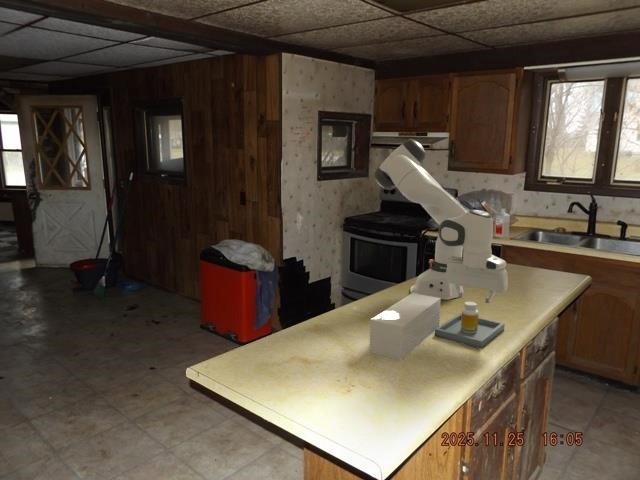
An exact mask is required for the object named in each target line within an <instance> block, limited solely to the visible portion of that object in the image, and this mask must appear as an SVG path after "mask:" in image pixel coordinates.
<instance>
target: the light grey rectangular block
mask: <svg viewBox="0 0 640 480" xmlns="http://www.w3.org/2000/svg"><path fill="white" fill-rule="evenodd" d="M441 300H442V299H441V298H437V297H431V296H426V295H420V294H415V293H409V294H408V295H407V296H405V297H403V298H402V299H400V300H398V301H397V302H395V303H394V304H393V305H391V306H389V307H388V308H386V309H385V310H383V311H382V312H380V313H377V315H375V316H374V317H372V318H371V319H369V351H368V352H370V353H373V354H377V355H381V356H384V357H389V358H392V359H395V360H400V361H402V360H403V359H405V357H407V356H408V355H409V354H410V353H412V352H413V351H414V350H415V349H416V348H417V347H418V346H419V345H420V344H422V343H423V342H425V340H426V339H427V338H428V337H430V336H431V334H433V333H435V329H436V328H437V327H439V326H440V322H441V321H440V320H441V317H440V316H441Z"/></svg>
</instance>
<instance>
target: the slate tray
mask: <svg viewBox="0 0 640 480" xmlns="http://www.w3.org/2000/svg"><path fill="white" fill-rule="evenodd" d="M461 318H462V312H461V313H458V314H457V315H455V316H453V317H452V318H450V319H448V320H447V321H446V322H444V323H442V324H439V327H437V328H436V329H435V331H434V337H436V338H440V339H445V340H446V341H447V340H449V341H451V342H455V343H459V344H462V345H467V346H470V347H473V348H476V349H480V350H481V349H483V348H484V347H486V346H487V345H488V344H490V342H492V341H493V340H494V339H495V338H497V336H499V335H500V334H501V333H503V332H504V331H505V323H504V322H501V321H497V320H496V321H495V320H492V319H487V318H484V317H483V318H482V317H479V316H478V329H477V332H476V333H465V332H463V331H462V330H461Z"/></svg>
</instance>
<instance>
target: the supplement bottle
mask: <svg viewBox="0 0 640 480" xmlns="http://www.w3.org/2000/svg"><path fill="white" fill-rule="evenodd" d="M463 304H464V305H463V307H464V308H463V309H462V310H461V313H462V318H461V330H462V331H463V332H465V333H476V332H477V329H478V317H479V310H478V309H477V306H478V303H476V302H474V301H465V302H464V303H463Z"/></svg>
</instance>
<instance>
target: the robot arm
mask: <svg viewBox="0 0 640 480" xmlns="http://www.w3.org/2000/svg"><path fill="white" fill-rule="evenodd" d="M425 158H426V151H425V149H424V146H423V145H422V144H421V143H420V142H418V140H417V141H416V140H415V139H412V138H409V139H407V140H405V141H404V142H402V144H401V145H399V146H398V147H397V148H395V149H394V150H392V152H390V154H389V156H387V158H385V160H384V161H382V163H381V164H380V166H378V167H377V168H376V169H375V171H374V175H373V177H374V178H375V181H376V183H377V184H378V185H379V186H380V187H381V188H383V189H385V190H388V191H391V190H393V189H395V188H396V189H398V191H399V192H400V193H401V195H402V196H403V197H404V198H406V199H407V200H408V201H410V202H412V203H416V204H419V205H421V207H422V208H423V209H424V210H425V211H426V212H427V214H428V215H429V216H430V217H431V218H432V219H433V220H434V221H435V223H437V225H438V226H439V227H438V231H437V232H438V234H437V239H436V242H435V253H434V259H433V258H432V259H429V261H428V263H429V269H427V270H425V271H424V272H422V273H420V274H419V275H418V276H417V279H416V281H415V284H414V285H411V287H410V291H409V292H410V293H409V294H411V293H415V294H420V295H426V296H431V297H437V298H441V300H445V301H446V300H447V301H448V300H453V299H455V298H456V299H457V298H460V299H461V298H462V299H464V297H465V291H464V289H463V286H464V287H470V288H475V289H480V290H485V291H489V293H488V294H489V296H486V297H485V299H484V300H485V302H484V303H486V304H491V303H492V301H493V297H494V296H495V294H496V293H501V294H502V293H504V292H506V290H508V287H509V276H508V271H507V269H506V268H505V267H506V266H507V262H506V260H504V259H503V258H500V257H498V256H496V255H494V254H492V241H493V238H494V237H493V236H494V222H493V218H492V215H491V214H490V213H489V212H487V211H484V210H480V209H470V210H468V209H467V208H466V207H465V206H463V204H461V203H460V202H459V200H457V199H456V198H455V197H454V196H453V195H452V194H450V193H449V192H448V191H447V190H446V189H445V188H443V187H442V186H441V184H439V183H438V182H437V181H436V179H434V177H433V176H432V175H431V174H430V173H429V172H428V171H427V170H426V169H425V168H424V167H422V166H421V165H420V164H422V165H423V163H424V161H425Z"/></svg>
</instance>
